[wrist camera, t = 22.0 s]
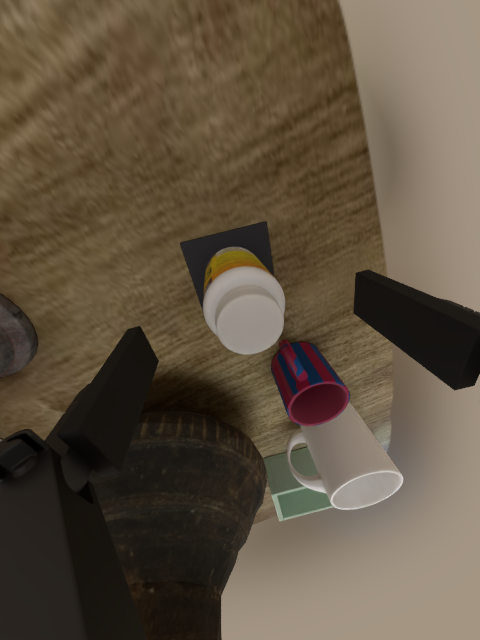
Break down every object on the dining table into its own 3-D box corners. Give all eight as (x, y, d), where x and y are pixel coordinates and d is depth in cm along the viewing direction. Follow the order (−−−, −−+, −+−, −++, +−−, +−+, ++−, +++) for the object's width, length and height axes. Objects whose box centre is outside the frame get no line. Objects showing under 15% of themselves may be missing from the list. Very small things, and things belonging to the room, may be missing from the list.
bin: (370, 430, 38) (393, 463, 33) (365, 461, 43) (385, 494, 38) (263, 458, 38) (271, 495, 33) (271, 486, 43) (279, 521, 38)
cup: (279, 388, 30) (297, 433, 24) (254, 334, 25) (268, 375, 19) (325, 370, 29) (354, 412, 23) (307, 311, 25) (338, 346, 19)
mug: (269, 412, 32) (294, 498, 23) (346, 384, 31) (404, 461, 22) (284, 442, 36) (310, 525, 27) (352, 418, 35) (403, 495, 26)
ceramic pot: (120, 488, 37) (17, 814, 17) (41, 387, 25) (-582, 1067, 5) (259, 461, 38) (313, 733, 19) (247, 353, 26) (359, 789, 7)
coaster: (265, 221, 19) (266, 221, 19) (276, 299, 23) (277, 301, 23) (180, 242, 19) (179, 243, 19) (205, 317, 23) (205, 319, 23)
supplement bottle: (201, 247, 19) (194, 284, 10) (261, 243, 20) (303, 275, 11) (208, 303, 22) (207, 370, 13) (261, 298, 23) (294, 360, 14)
